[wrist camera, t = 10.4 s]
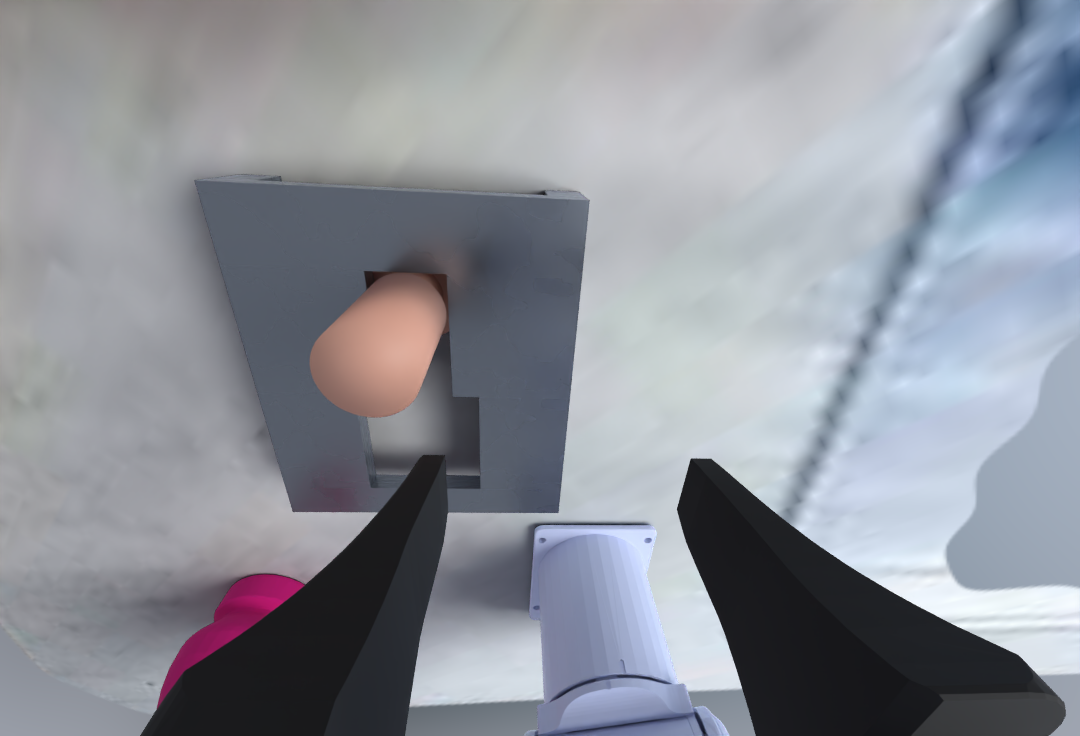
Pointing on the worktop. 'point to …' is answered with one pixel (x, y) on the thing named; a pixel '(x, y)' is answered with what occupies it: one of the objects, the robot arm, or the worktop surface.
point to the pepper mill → (232, 620)
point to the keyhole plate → (474, 323)
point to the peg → (382, 344)
